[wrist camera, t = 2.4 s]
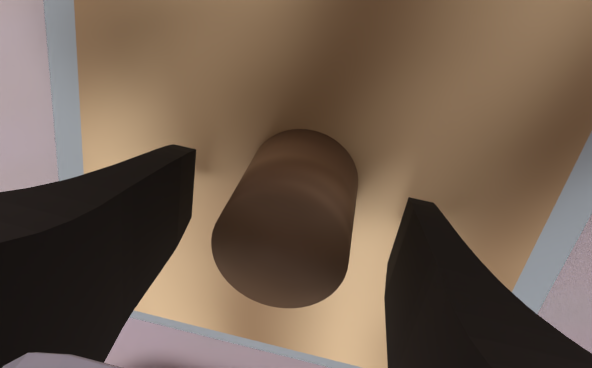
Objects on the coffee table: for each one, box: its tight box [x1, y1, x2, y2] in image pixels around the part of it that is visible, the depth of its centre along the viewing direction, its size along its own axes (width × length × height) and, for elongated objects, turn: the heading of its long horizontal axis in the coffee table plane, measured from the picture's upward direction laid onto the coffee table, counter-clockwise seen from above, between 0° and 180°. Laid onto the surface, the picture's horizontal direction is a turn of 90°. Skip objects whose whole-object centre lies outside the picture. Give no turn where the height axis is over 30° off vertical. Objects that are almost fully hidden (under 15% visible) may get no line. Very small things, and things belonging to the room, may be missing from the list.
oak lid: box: [74, 0, 592, 368], centre depth 13 cm, size 13×13×4 cm
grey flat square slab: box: [43, 0, 592, 368], centre depth 15 cm, size 16×16×1 cm
